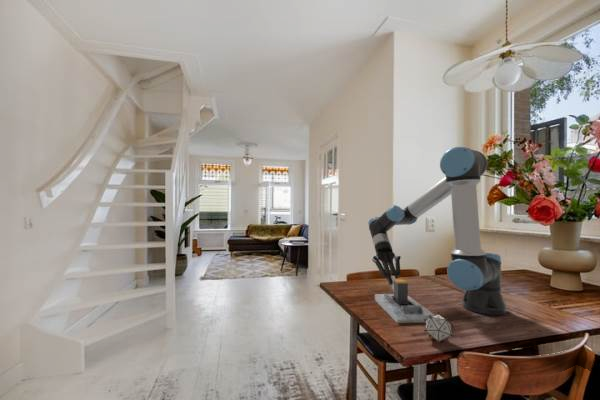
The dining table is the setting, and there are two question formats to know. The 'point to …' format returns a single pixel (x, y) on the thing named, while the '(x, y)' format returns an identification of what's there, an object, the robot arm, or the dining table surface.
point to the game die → (438, 327)
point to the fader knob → (401, 291)
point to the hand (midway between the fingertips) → (396, 291)
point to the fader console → (403, 309)
